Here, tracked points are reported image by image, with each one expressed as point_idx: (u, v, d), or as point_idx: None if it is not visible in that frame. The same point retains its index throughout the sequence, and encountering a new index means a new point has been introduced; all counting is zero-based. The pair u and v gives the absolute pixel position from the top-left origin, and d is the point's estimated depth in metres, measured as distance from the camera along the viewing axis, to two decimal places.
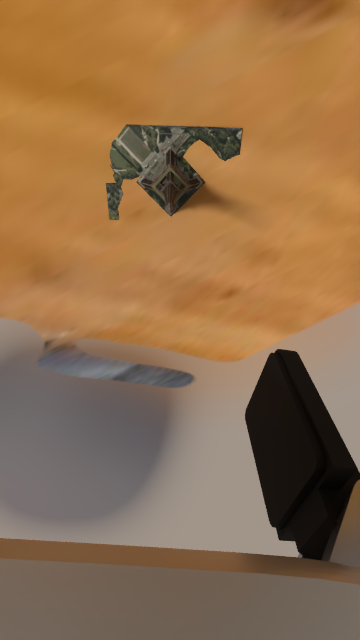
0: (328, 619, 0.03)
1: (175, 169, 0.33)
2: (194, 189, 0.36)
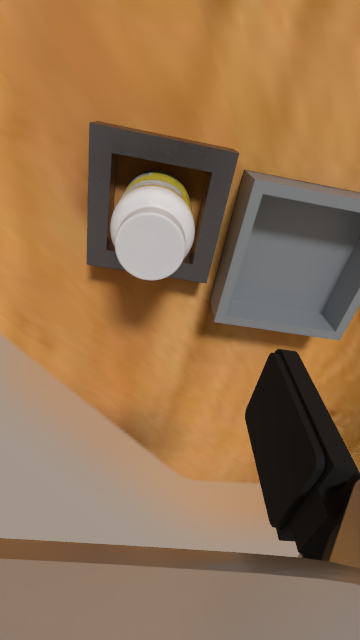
0: (328, 619, 0.03)
1: None
2: None
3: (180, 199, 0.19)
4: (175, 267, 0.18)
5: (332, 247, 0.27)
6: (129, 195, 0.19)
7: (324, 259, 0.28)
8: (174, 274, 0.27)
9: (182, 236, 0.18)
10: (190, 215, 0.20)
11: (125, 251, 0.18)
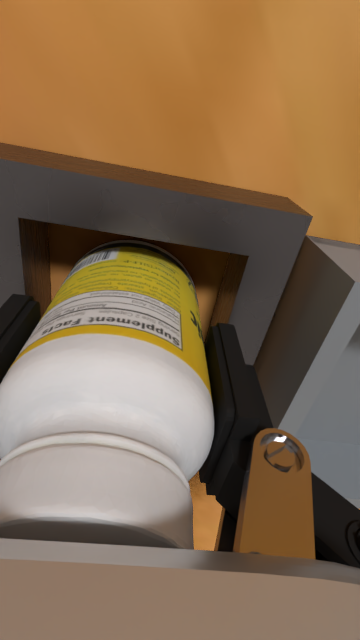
0: (328, 619, 0.03)
1: None
2: None
3: (177, 370, 0.07)
4: None
5: None
6: (28, 369, 0.06)
7: None
8: None
9: None
10: (204, 405, 0.07)
11: None
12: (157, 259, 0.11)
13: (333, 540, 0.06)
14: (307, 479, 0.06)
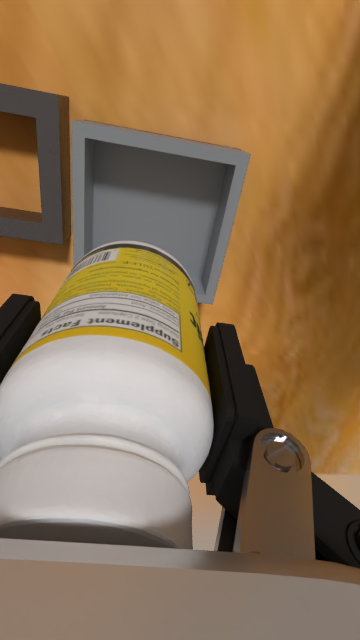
0: (328, 619, 0.03)
1: None
2: None
3: (176, 371, 0.07)
4: None
5: (196, 204, 0.26)
6: (28, 371, 0.06)
7: (190, 218, 0.27)
8: (26, 235, 0.25)
9: None
10: (204, 406, 0.07)
11: None
12: (157, 260, 0.11)
13: (333, 540, 0.06)
14: (307, 479, 0.06)
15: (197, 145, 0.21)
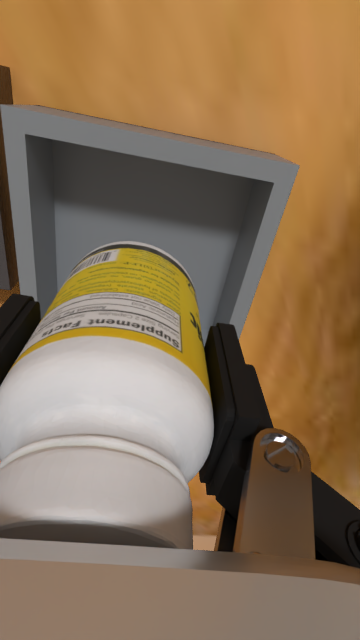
0: (328, 619, 0.03)
1: None
2: None
3: (177, 372, 0.07)
4: None
5: (206, 234, 0.18)
6: (28, 372, 0.06)
7: (197, 253, 0.18)
8: None
9: None
10: (204, 407, 0.07)
11: None
12: (157, 261, 0.11)
13: (333, 540, 0.06)
14: (307, 479, 0.06)
15: (213, 149, 0.13)
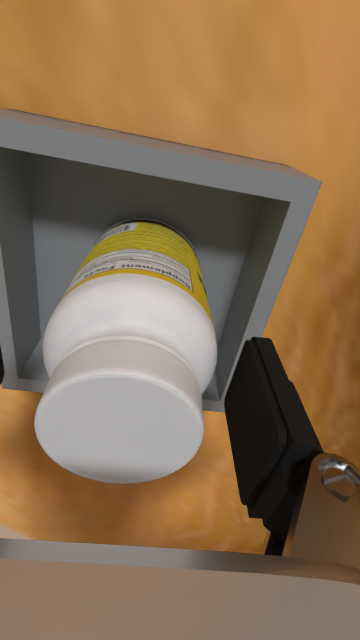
0: (328, 619, 0.03)
1: None
2: None
3: (190, 302, 0.09)
4: (179, 465, 0.08)
5: (208, 255, 0.15)
6: (79, 297, 0.08)
7: None
8: None
9: (198, 413, 0.07)
10: (210, 332, 0.09)
11: (61, 440, 0.08)
12: (168, 232, 0.13)
13: None
14: None
15: (218, 163, 0.10)
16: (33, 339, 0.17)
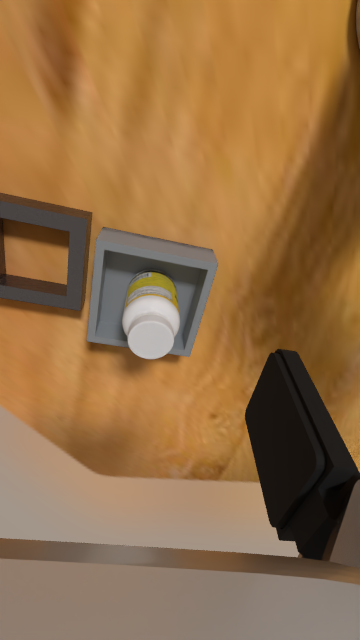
0: (328, 619, 0.03)
1: None
2: None
3: (171, 305, 0.29)
4: (166, 352, 0.28)
5: (180, 285, 0.35)
6: (138, 302, 0.28)
7: None
8: (53, 303, 0.34)
9: (172, 334, 0.27)
10: (177, 314, 0.29)
11: (134, 342, 0.27)
12: (164, 277, 0.33)
13: None
14: None
15: (182, 257, 0.30)
16: (98, 320, 0.36)
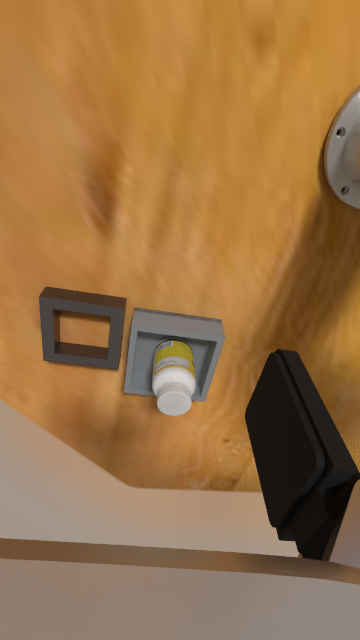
0: (328, 619, 0.03)
1: None
2: None
3: (189, 374, 0.38)
4: (186, 411, 0.37)
5: (195, 346, 0.44)
6: (164, 373, 0.38)
7: None
8: (97, 365, 0.44)
9: (190, 399, 0.36)
10: (193, 380, 0.38)
11: (162, 404, 0.37)
12: (182, 344, 0.42)
13: None
14: None
15: (196, 333, 0.39)
16: None
